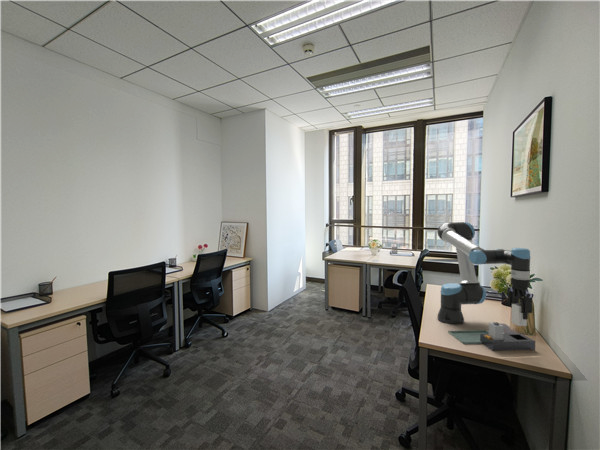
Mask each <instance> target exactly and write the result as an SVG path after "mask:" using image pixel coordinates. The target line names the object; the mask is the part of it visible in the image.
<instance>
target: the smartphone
mask: <svg viewBox="0 0 600 450" xmlns="http://www.w3.org/2000/svg"><path fill="white" fill-rule="evenodd" d="M498 323H499V322H498ZM499 324H501V325H502V326H504V329H503V334H504V333H518V332H517V331H516V330H515V331H516V332H515V331H513V330H514V329H513V330H511V329H510V327H511V326H509V325H508V324H507V323H499Z"/></svg>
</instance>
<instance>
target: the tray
mask: <svg viewBox="0 0 600 450" xmlns="http://www.w3.org/2000/svg"><path fill="white" fill-rule="evenodd" d="M448 334H450V335H451V336H452V337H454V338H455V339H456V340H457V341H459V342H460V343H461V344H463V345H483V344H482V341H480V334H489V330H486V329H474V330H473V329H467V330H466V329H464V330H462V329H461V330H459V329H457V330H448Z"/></svg>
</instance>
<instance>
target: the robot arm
mask: <svg viewBox="0 0 600 450" xmlns="http://www.w3.org/2000/svg"><path fill="white" fill-rule="evenodd" d="M475 234H476V231H475V228H474V226H473V224H471V223H469V222H464V221H460V222H459V221H455V222H454V221H453V222H451V221H450V222H443V223H442V224H440V225H439V226H438V228H437V236H438V237H439V239H440V240H441V241H443V242H444V243H449V244H450V245H452V246H453V247H455V251H456V255H457V256H456V258H457V262H458V268H459V269H458V270H459V276H460V281H459V283H456V282H454V283H453V282H452V283H451V282H449V283H444V284H442V285H441V287H440V307H439V310H438V313H437V320H438V321H439V322H440V323H444V324H449V325H456V326H458V325H464V323H465V317H464V315H463V312H462V305H480V304H483V303H484V302H485V301H486V298H487V291H486V289H485V287H484V286H483V285H481V282H480V281H479V280H477V275H476V269H475V265H490V264H491V265H492V264H493V265H497V264H498V265H500V264H504V265H510V270H511V271H510V276H511V278H510V285H511V287H509V286H508V287H506V288H507V294H508V295H507V305H508V307H510V308H511V309H512V304H516V303H521V309H522V312H520V325H527V326H528V320H529V318H528V316H529V315H528V314H531V313H533V312H532V311H533V299H534V294H533V293H530V291H529V289H528V288H530V286H531V285H530V284H531V283H530V281H531V280H530V278H531V274H530V273H531V272H530V271H531V250H530V249H528V248H523V247H512V248H511V249H510V250H508V249H503V248H496V249H484V248H482V247H480V246H479V245H477V244H475V243H474V242H473V239H474V238H475Z"/></svg>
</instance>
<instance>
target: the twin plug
mask: <svg viewBox="0 0 600 450" xmlns="http://www.w3.org/2000/svg"><path fill="white" fill-rule="evenodd" d="M503 329H504V326H502V325H501V324H499V322H497V321H493V322H488V332H489V336H490V337H492V339H493V340H503V334H504V333H503Z"/></svg>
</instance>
